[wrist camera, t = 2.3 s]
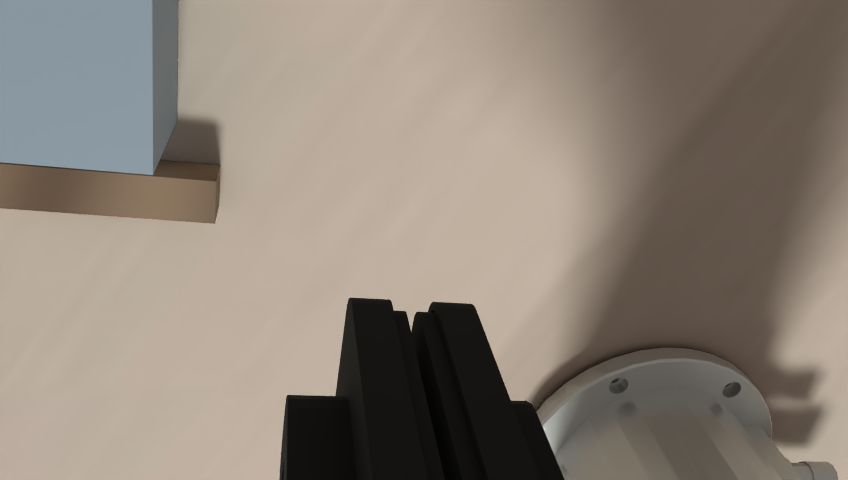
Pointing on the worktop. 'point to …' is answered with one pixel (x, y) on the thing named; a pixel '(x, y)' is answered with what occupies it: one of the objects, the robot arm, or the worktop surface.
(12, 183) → the track
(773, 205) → the worktop surface
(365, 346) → the robot arm
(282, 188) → the worktop surface
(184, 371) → the worktop surface
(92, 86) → the light blue cube
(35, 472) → the worktop surface
